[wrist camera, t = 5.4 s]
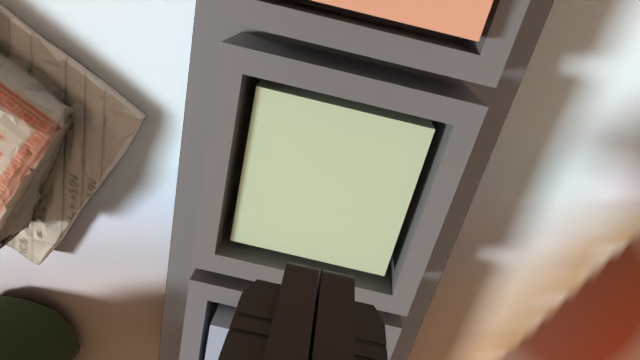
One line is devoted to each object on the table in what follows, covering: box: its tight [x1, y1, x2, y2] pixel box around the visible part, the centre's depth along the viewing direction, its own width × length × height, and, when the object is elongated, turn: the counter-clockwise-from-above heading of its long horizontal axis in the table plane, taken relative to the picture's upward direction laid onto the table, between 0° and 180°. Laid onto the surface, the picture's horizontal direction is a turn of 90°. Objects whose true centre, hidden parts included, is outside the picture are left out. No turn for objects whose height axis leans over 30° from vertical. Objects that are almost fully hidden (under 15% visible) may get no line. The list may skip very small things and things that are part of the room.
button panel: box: [158, 0, 554, 360], centre depth 18 cm, size 28×12×5 cm, turn 167°
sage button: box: [230, 79, 435, 276], centre depth 17 cm, size 6×6×2 cm
